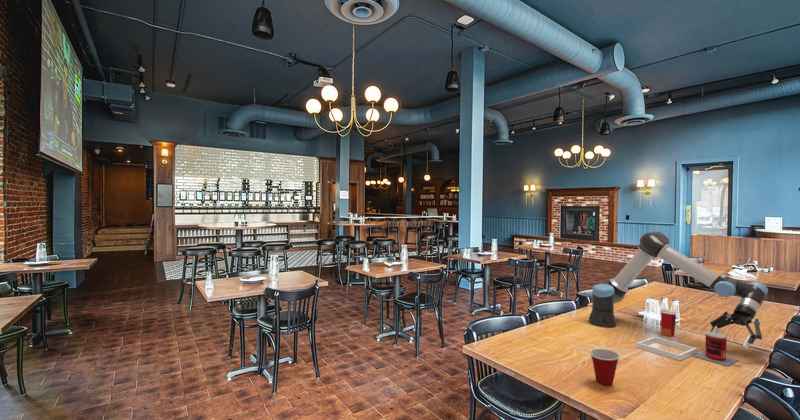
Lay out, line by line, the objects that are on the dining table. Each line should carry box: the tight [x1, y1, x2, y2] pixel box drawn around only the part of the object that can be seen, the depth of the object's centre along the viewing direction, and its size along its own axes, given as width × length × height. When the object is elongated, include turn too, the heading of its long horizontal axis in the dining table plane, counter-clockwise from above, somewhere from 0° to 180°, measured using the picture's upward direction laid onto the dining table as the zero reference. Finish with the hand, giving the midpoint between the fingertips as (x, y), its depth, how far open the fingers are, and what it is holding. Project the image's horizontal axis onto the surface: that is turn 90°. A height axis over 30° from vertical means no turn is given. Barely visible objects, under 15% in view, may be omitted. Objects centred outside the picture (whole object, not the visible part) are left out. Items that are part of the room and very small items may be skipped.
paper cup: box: [660, 308, 678, 337], centre depth 212 cm, size 8×8×14 cm
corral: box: [636, 336, 698, 362], centre depth 188 cm, size 19×19×2 cm
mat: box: [692, 350, 739, 368], centre depth 178 cm, size 13×13×1 cm
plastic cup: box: [589, 348, 621, 387], centre depth 151 cm, size 11×11×12 cm
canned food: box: [704, 331, 727, 361], centre depth 178 cm, size 8×8×11 cm
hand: (727, 342), depth 181 cm, fingers open, 13 cm apart
